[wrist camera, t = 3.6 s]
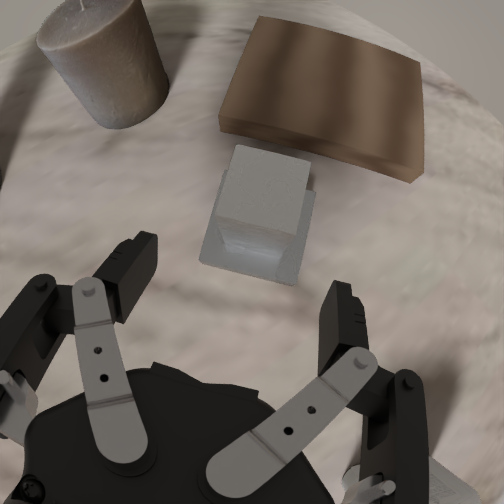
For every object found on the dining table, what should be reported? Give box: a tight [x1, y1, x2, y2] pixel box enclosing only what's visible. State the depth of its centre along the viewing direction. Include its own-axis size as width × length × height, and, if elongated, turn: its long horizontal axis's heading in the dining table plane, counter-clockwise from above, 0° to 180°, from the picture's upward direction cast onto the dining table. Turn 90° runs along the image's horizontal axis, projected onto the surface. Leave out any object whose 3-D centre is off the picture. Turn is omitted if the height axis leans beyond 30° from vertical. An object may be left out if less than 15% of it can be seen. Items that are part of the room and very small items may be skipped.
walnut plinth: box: [218, 16, 424, 183], centre depth 29 cm, size 20×16×3 cm
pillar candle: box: [36, 0, 169, 129], centre depth 23 cm, size 10×10×15 cm
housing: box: [199, 144, 316, 286], centre depth 23 cm, size 8×8×11 cm
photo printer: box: [342, 456, 481, 504], centre depth 18 cm, size 10×4×12 cm, turn 86°
